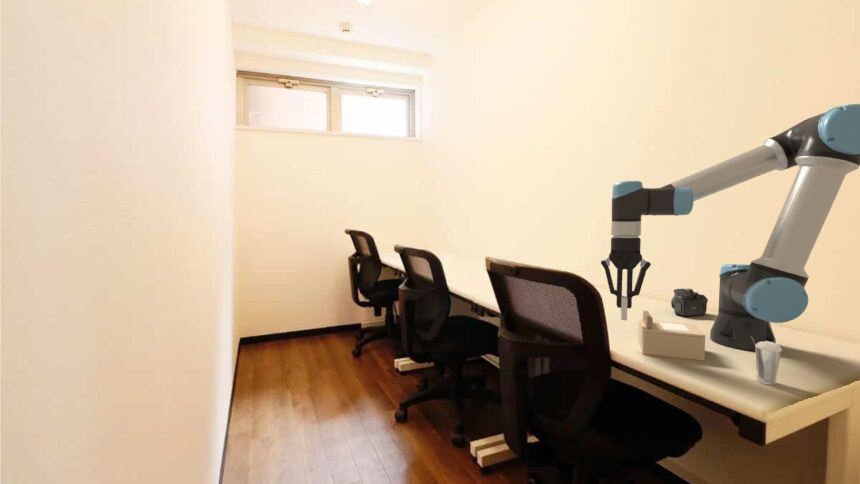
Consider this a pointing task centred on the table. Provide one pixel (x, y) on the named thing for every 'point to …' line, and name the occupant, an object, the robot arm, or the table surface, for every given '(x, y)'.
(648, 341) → the box
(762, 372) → the milkshake
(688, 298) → the camera
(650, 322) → the lid
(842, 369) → the table surface
